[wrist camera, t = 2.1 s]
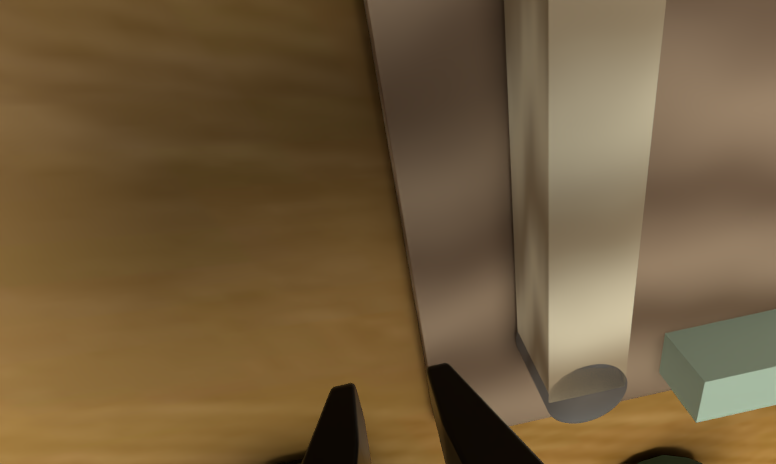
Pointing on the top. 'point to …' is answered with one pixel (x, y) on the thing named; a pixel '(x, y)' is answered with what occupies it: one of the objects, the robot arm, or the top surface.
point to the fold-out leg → (579, 188)
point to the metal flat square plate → (494, 188)
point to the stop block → (723, 365)
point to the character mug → (669, 460)
